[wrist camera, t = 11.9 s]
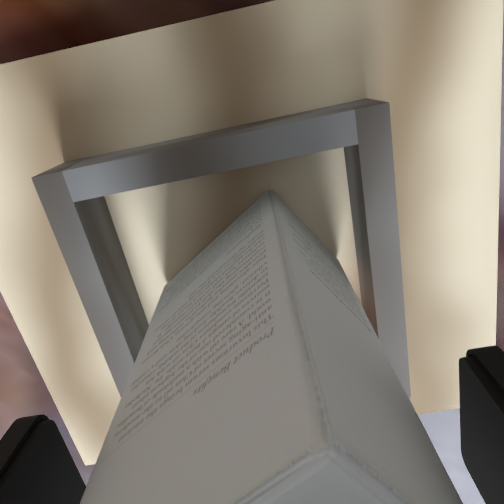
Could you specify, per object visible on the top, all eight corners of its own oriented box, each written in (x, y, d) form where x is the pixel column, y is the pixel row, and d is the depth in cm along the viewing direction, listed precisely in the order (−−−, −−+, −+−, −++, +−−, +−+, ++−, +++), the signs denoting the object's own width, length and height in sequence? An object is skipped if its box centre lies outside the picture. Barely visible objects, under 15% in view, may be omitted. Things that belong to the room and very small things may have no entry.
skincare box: (236, 346, 18) (214, 753, 7) (163, 283, 17) (4, 655, 6) (345, 258, 17) (525, 608, 6) (272, 181, 16) (324, 439, 5)
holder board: (487, -45, 14) (560, -82, 11) (483, 387, 21) (526, 446, 17) (-78, 86, 15) (-166, 89, 12) (92, 449, 22) (64, 513, 19)
